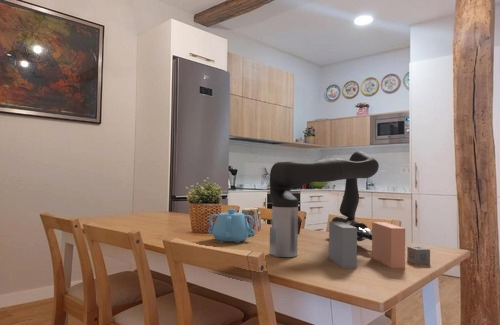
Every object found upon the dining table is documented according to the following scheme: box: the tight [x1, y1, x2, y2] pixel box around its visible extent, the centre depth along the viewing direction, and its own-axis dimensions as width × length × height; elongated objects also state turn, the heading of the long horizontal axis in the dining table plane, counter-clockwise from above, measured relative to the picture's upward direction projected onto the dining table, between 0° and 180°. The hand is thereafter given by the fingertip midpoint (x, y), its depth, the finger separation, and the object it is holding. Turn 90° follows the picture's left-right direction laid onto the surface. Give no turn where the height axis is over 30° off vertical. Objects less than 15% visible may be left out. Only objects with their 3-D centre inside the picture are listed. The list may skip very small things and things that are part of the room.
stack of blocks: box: [241, 206, 262, 237], centre depth 181 cm, size 21×6×12 cm, turn 170°
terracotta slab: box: [371, 221, 406, 269], centre depth 122 cm, size 15×4×12 cm, turn 4°
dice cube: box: [406, 245, 431, 266], centre depth 123 cm, size 5×5×5 cm
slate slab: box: [328, 221, 358, 269], centre depth 121 cm, size 15×4×12 cm, turn 4°
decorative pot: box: [208, 208, 254, 244], centre depth 157 cm, size 16×16×14 cm
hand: (372, 237), depth 135 cm, fingers closed
